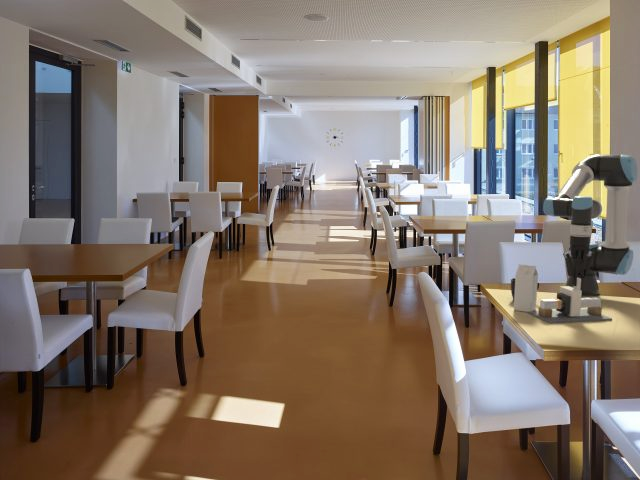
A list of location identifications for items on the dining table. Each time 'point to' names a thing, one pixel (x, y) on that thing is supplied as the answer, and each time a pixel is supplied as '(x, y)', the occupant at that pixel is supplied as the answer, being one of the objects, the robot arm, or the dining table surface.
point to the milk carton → (525, 288)
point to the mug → (514, 287)
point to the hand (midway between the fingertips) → (576, 293)
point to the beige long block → (550, 304)
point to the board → (571, 317)
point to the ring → (567, 303)
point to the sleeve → (572, 299)
